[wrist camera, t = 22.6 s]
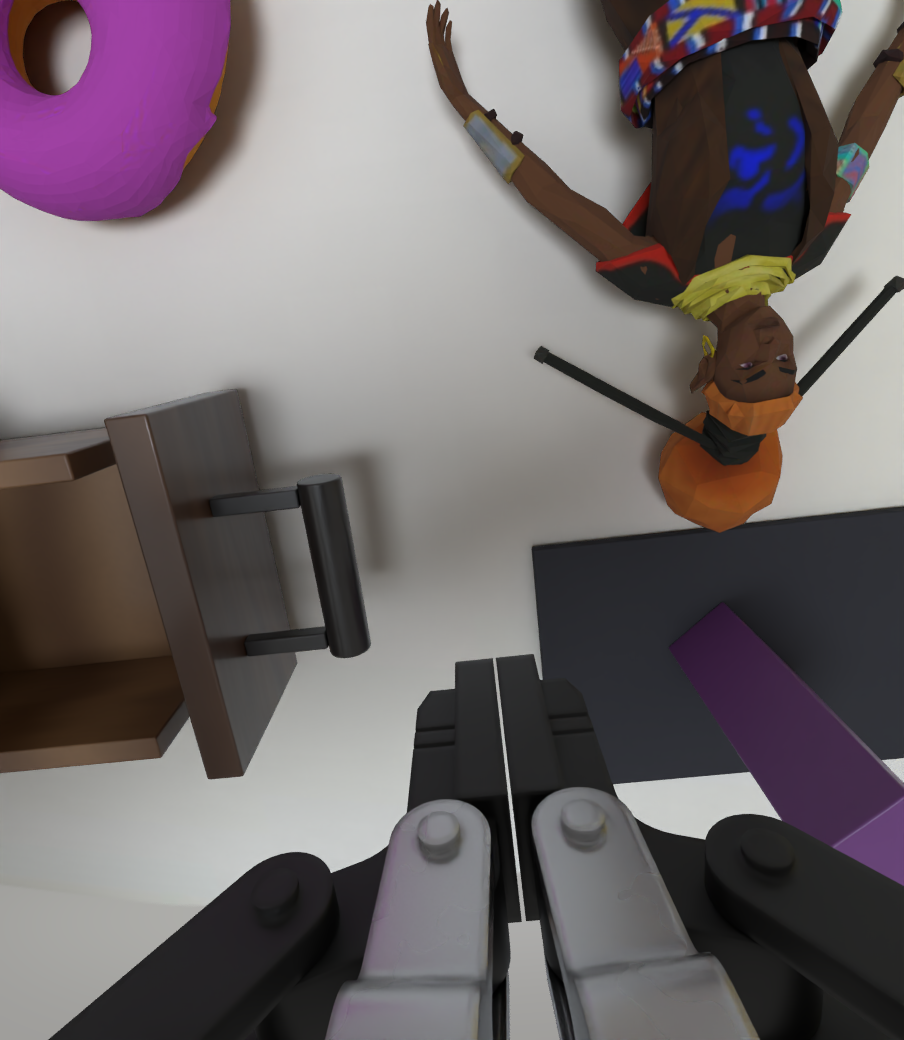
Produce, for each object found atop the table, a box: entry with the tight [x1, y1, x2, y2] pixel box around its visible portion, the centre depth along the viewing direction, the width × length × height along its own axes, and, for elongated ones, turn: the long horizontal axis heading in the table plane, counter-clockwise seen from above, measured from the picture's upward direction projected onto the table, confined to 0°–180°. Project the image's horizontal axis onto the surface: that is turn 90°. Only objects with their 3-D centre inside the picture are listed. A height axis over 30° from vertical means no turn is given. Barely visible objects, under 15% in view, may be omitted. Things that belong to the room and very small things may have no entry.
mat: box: [532, 507, 904, 784], centre depth 26 cm, size 12×16×1 cm
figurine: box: [426, 0, 904, 533], centre depth 18 cm, size 16×8×30 cm
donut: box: [0, 0, 231, 221], centre depth 18 cm, size 10×10×5 cm
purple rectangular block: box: [669, 602, 904, 886], centre depth 21 cm, size 5×3×11 cm, turn 47°
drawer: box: [0, 389, 371, 779], centre depth 21 cm, size 18×12×7 cm, turn 97°
